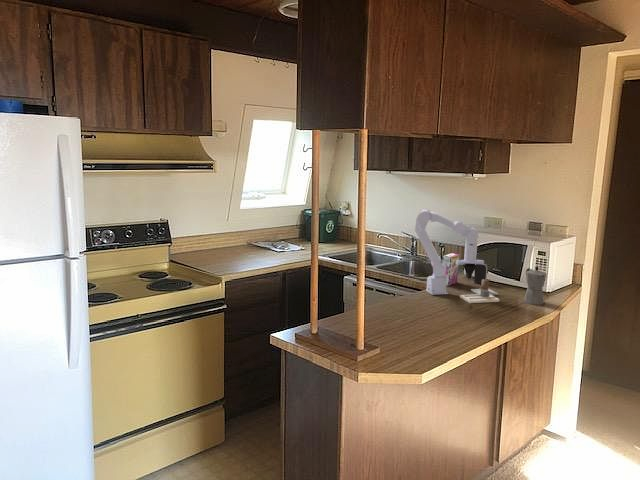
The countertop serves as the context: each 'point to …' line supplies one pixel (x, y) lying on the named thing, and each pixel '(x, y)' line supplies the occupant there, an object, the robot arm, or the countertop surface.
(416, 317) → the countertop surface
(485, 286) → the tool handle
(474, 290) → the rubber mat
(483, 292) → the switch tab
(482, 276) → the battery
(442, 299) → the countertop surface
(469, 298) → the switch panel
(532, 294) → the coffeepot
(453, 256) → the candy bar box
